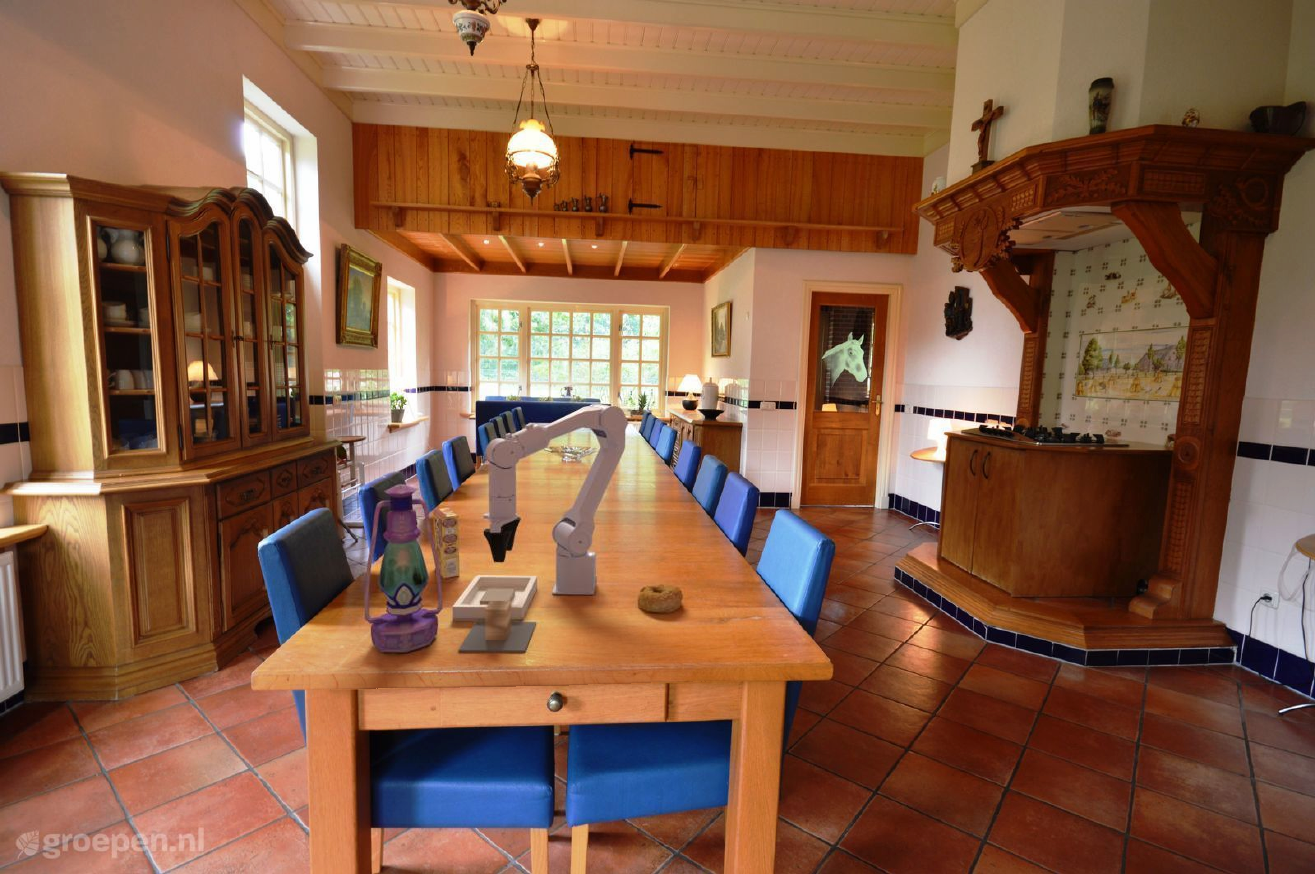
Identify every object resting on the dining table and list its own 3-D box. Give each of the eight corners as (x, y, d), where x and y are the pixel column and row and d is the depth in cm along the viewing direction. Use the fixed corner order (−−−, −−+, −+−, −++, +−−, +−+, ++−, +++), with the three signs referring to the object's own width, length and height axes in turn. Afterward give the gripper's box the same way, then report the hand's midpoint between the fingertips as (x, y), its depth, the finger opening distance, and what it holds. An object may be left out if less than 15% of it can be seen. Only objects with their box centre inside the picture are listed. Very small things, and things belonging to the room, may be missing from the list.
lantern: (364, 662, 104) (358, 493, 100) (367, 633, 114) (361, 480, 111) (445, 649, 109) (441, 488, 105) (440, 623, 120) (437, 476, 116)
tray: (537, 588, 139) (537, 575, 139) (522, 621, 121) (522, 607, 121) (476, 587, 139) (476, 575, 138) (452, 620, 121) (452, 606, 120)
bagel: (675, 594, 138) (675, 574, 137) (688, 614, 127) (688, 593, 127) (633, 597, 136) (633, 577, 135) (642, 618, 125) (642, 596, 124)
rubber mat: (536, 623, 120) (536, 621, 120) (525, 652, 109) (525, 650, 108) (476, 623, 120) (476, 621, 120) (458, 651, 108) (458, 649, 108)
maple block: (511, 630, 116) (511, 601, 116) (506, 639, 112) (506, 609, 112) (490, 630, 116) (490, 600, 115) (485, 639, 112) (485, 609, 111)
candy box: (460, 576, 146) (459, 515, 144) (442, 579, 143) (441, 517, 142) (450, 565, 153) (449, 507, 151) (433, 568, 151) (432, 509, 149)
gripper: (492, 487, 135) (492, 545, 137) (474, 502, 121) (475, 566, 122) (523, 487, 135) (523, 545, 137) (509, 502, 121) (510, 567, 123)
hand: (503, 555), depth 130 cm, fingers open, 7 cm apart
